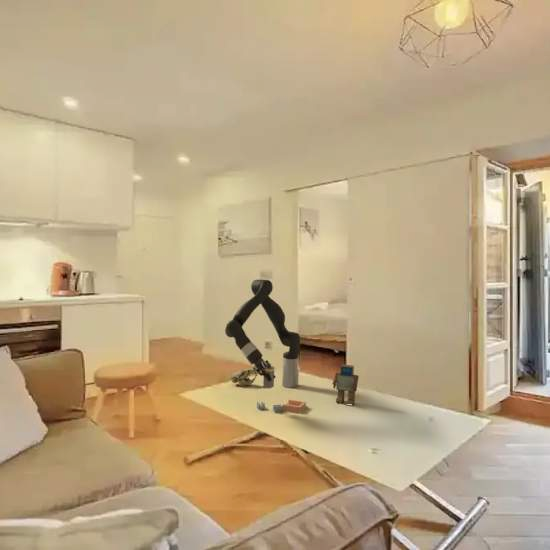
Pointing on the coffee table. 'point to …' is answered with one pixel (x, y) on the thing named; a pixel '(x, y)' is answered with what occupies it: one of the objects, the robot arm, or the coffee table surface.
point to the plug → (271, 372)
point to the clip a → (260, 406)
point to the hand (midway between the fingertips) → (272, 379)
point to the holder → (294, 406)
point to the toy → (346, 383)
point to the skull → (243, 377)
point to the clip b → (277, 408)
